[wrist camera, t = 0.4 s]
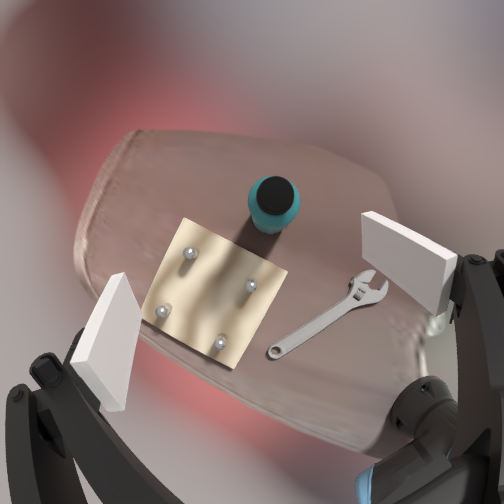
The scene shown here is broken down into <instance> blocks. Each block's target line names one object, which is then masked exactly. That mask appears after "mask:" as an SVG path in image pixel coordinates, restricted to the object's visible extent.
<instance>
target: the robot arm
mask: <svg viewBox="0 0 504 504" xmlns="http://www.w3.org/2000/svg"><path fill="white" fill-rule="evenodd" d="M361 223H362V258H364V259H365V260H366V261H368V262H369V263H370V264H372V265H373V266H374V267H375V268H377V269H378V270H379V271H381V272H382V273H383V274H384V275H386V276H387V277H388V278H389V279H391V280H392V281H393V282H394V283H396V284H397V285H398V286H399V287H401V288H402V289H403V290H404V291H406V292H407V293H408V294H409V295H410V296H412V297H413V298H414V299H415V300H416V301H418V302H419V303H420V304H421V305H422V306H424V307H425V308H426V309H427V310H428V311H430V312H431V313H432V314H433V315H434V316H435V317H436V316H438V315H440V314H442V313H444V312H445V311H447V308H448V304H449V299H451V300H452V301H453V302H454V307H453V311H452V314H451V319H450V324H451V323H452V320H453V319H454V322H455V323H454V324H455V332H456V343H457V359H458V403H457V402H456V401H454V399H453V398H452V396H451V393H450V391H449V389H448V387H447V385H446V383H445V382H443V381H442V380H441V379H440V378H438V377H436V376H425V377H422V378H420V379H418V380H416V381H414V382H413V383H412V384H410V385H409V386H408V387H407V388H406V389H405V390H404V391H403V392H402V393H401V394H400V395H399V397H398V398H397V400H396V401H395V403H394V405H393V408H392V411H391V421H392V424H393V425H394V427H395V428H396V429H397V431H399V432H400V433H402V434H404V435H406V436H408V437H410V438H413V439H414V440H413V441H411V442H410V443H408V444H407V445H405V446H404V447H402V448H401V449H399V450H398V451H396V452H395V453H393V454H391V455H390V456H388V457H386V458H385V459H383V460H381V461H380V462H378V463H375V464H373V466H371V467H370V468H368V469H367V470H365V471H363V472H361V473H360V474H359V475H358V476H357V478H356V480H355V489H356V495H357V499H358V503H359V504H504V250H502V249H500V250H497V251H496V253H495V258H494V261H489V262H488V261H487V260H486V259H485V258H484V257H482V256H479V255H474V254H473V255H472V254H470V255H466V256H465V257H462V256H460V255H459V254H457V253H455V252H453V251H451V250H449V249H448V248H445V247H444V246H442V245H440V244H439V243H437V242H435V241H433V240H430V239H428V238H426V237H424V236H422V235H420V234H418V233H416V232H414V231H412V230H410V229H408V228H406V227H404V226H402V225H400V224H398V223H396V222H394V221H392V220H390V219H388V218H386V217H384V216H381V215H379V214H377V213H375V212H373V211H370V212H366V213H361ZM142 316H143V315H142V313H141V310H140V308H139V306H138V304H137V301H136V299H135V297H134V294H133V292H132V290H131V287H130V285H129V283H128V280H127V278H126V275H125V273H124V272H123V273H119V274H115V275H112V276H111V278H110V280H109V282H108V283H107V285H106V287H105V289H104V291H103V293H102V295H101V297H100V299H99V301H98V303H97V305H96V307H95V309H94V311H93V313H92V315H91V317H90V319H89V321H88V323H87V325H86V327H85V328H82V329H81V330H80V331H79V332H78V334H77V335H76V336H75V338H74V340H73V342H72V345H71V347H70V349H69V351H68V353H67V355H66V358H65V360H64V362H63V365H62V364H61V362H60V361H59V359H58V358H57V357H56V355H55V354H54V353H50V352H49V353H44V354H43V355H41V356H39V357H38V358H37V359H35V360H34V362H33V363H32V364H31V367H30V371H29V372H30V375H31V376H32V377H33V379H34V380H35V381H36V382H37V384H38V385H39V386H40V387H41V389H39V390H36V391H33V392H32V391H31V390H30V389H29V388H28V386H27V385H26V384H19V385H17V386H15V387H13V388H12V389H11V390H10V392H9V394H8V397H7V401H6V422H5V442H6V463H7V473H8V482H9V489H10V496H11V501H12V504H88V503H87V500H86V498H85V495H84V492H83V489H82V486H81V483H80V480H79V477H78V474H77V471H76V467H75V464H74V460H73V458H74V459H75V461H76V463H77V464H78V466H79V468H80V470H81V471H82V473H83V475H84V476H85V478H86V479H87V481H88V483H89V484H90V486H91V487H92V489H93V490H94V492H95V493H96V495H97V496H98V497H99V499H100V500H101V502H102V503H103V504H184V503H183V502H182V501H181V500H180V499H178V498H177V497H176V496H175V495H174V494H173V493H172V492H171V491H170V490H168V489H167V488H166V487H165V486H164V485H163V484H162V483H161V482H160V481H159V480H158V479H157V478H156V477H155V476H154V475H153V474H152V473H151V472H150V471H149V470H148V469H147V468H146V467H145V466H144V465H143V463H142V462H141V461H140V460H139V459H138V458H137V457H136V456H135V455H134V453H133V452H132V451H131V450H130V449H129V448H128V447H127V445H126V444H125V443H124V442H123V441H122V439H121V438H120V437H119V436H118V434H117V433H116V432H115V431H114V429H113V428H112V427H111V425H110V424H109V423H108V421H107V420H106V419H105V417H104V416H103V415H102V414H101V413H100V412H99V407H100V403H101V404H102V405H103V406H104V408H105V409H106V410H107V411H108V412H114V411H124V410H125V403H126V396H127V390H128V385H129V379H130V373H131V367H132V362H133V357H134V352H135V348H136V343H137V338H138V334H139V329H140V325H141V320H142Z"/></svg>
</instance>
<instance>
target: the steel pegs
mask: <svg viewBox="0 0 504 504" xmlns="http://www.w3.org/2000/svg"><path fill="white" fill-rule="evenodd" d="M183 256H184V257H185V258H186V259H192V258H197V257H198V256H199V250H198V249H197V248H195V247H187V248H185V249H184V250H183ZM256 288H257V281H256V280H255V279H254V278H249V279H248V280H247V282H246V284H245V289H246V290H247V291H248V292H254V291H255V290H256ZM172 309H173V308H172V305H171V304H170V303H165V304H163V305H162V306H160V307H158V308H157V309H156V310H155V314H156V316H157V317H159V318H163V317H164V316H166V315H167V314H169V313H170V312H171V311H172ZM227 339H228V338H227V335H226V334H224V333H220V334H219V335H218V336H217V338H216V340H215V342H214V348H215V349H216V350H219V351H221V350H223V349H224V347H225V344H226V342H227Z"/></svg>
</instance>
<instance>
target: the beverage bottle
mask: <svg viewBox="0 0 504 504" xmlns="http://www.w3.org/2000/svg"><path fill="white" fill-rule="evenodd" d="M248 207H249V210H250V213H251V216H252V220H253V223H254V225H255V227H256V228H257V230H260V231H261V232H263V233H264V234H273V235H275V234H276V233H278V232H280V231H282V230H283V229H284V228H285V227H286V226H288V224H289V223H290V222H291V221H292V220H293V219H294V218H295V217H296V215H297V213H298V211H299V208H300V197H299V193H298V191H297V189H296V188H295V186H294V185H293V184H292V183H291V182H290V181H288V180H287V179H285V178H282V177H279V176H269V177H265V178H262V179H261V180H259V181H258V182H256V183H255V184H254V186H253V187H252V188H251V190H250V192H249V196H248Z"/></svg>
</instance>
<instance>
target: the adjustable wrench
mask: <svg viewBox="0 0 504 504" xmlns="http://www.w3.org/2000/svg"><path fill="white" fill-rule="evenodd" d="M375 272H376V271H374V270H366V271H363V272H361V273H360V274H359V275H357V276H356V277H352V280H351V281H350V283H351V284H352V285H351V288H350V290H349V292H348V294H347V295H346V296H345V297H344V298H343V299H342V300H341V301H339V302H338V303H336V304H335V305H333V306H332V307H331V308H329V309H328V310H326V311H325V312H323V313H322V314H320V315H318V316H317V317H315V318H314V319H312V320H311V321H309V322H308V323H306V324H304V325H303V326H301V327H300V328H298V329H297V330H295V331H293V332H292V333H290V334H288V335H287V336H285V337H284V338H282V339H280V340H279V341H277V342H275V343H274V344H272V345H271V346H270V347H269V349H268V353H269V356H270V357H272V358H275V359H276V358H279V357H281V356H283V355H284V354H286V353H288V352H289V351H291V350H292V349H294V348H295V347H297V346H298V345H300V344H302V343H303V342H305V341H306V340H308V339H309V338H311V337H312V336H314V335H315V334H317V333H318V332H320V331H321V330H322V329H324V328H325V327H327V326H328V325H330V324H331V323H332V322H334V321H335V320H337V319H338V318H340V317H341V316H342V315H344V314H345V313H346V312H348V311H349V310H351V309H352V308H355V307H357V306H361V305H365V304H370V303H376V302H378V301H380V300H382V299H383V297H384V296H385V295H386V293H387V290H388V281H387V280H385V279H384V280H383V282H382V283H381V285H380V287H379V288H378V290H371V289H370V288H369V287H368V284H367V282H370V281H371V279H372V277H373V276H374V274H375ZM353 296H354V297H355V298H357V299H358V300H356V299H354V298H353ZM273 347H279V348H280V353H279V354H277V355H274V354H272V353H271V349H272V348H273Z"/></svg>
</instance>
